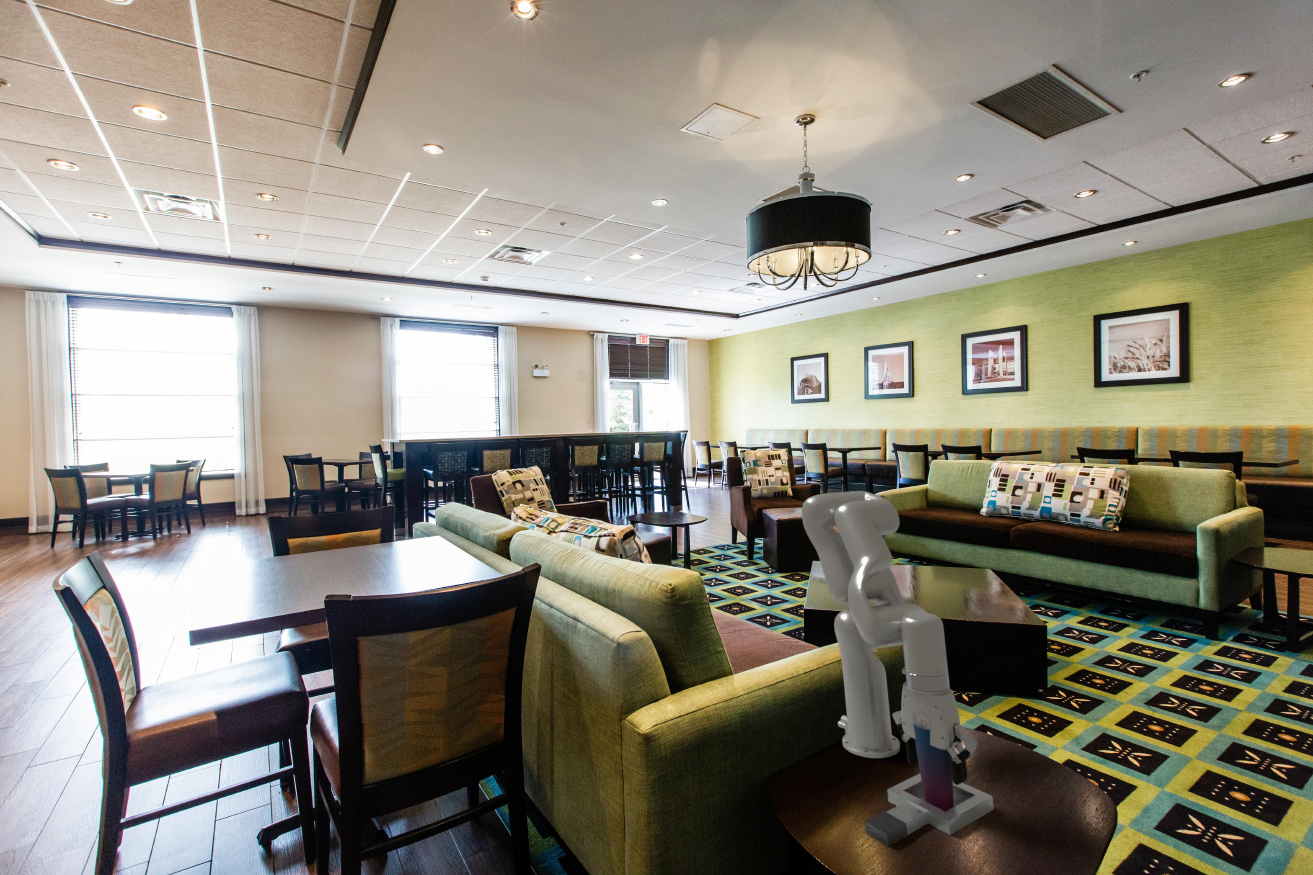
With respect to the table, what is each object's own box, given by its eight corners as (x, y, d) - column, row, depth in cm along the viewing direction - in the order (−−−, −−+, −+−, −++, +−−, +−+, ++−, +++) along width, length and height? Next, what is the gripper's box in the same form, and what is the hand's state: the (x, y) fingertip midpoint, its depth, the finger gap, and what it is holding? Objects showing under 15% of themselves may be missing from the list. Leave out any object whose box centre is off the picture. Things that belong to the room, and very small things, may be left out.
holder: (931, 780, 121) (930, 768, 121) (993, 809, 110) (992, 795, 110) (848, 822, 109) (847, 808, 110) (908, 859, 98) (907, 844, 98)
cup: (963, 813, 109) (955, 730, 110) (924, 812, 110) (916, 729, 111) (953, 793, 115) (945, 714, 116) (915, 792, 117) (908, 714, 118)
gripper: (877, 672, 120) (885, 760, 119) (957, 697, 105) (967, 797, 103) (902, 664, 123) (910, 749, 122) (982, 687, 108) (992, 783, 107)
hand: (936, 771), depth 113 cm, fingers open, 9 cm apart
